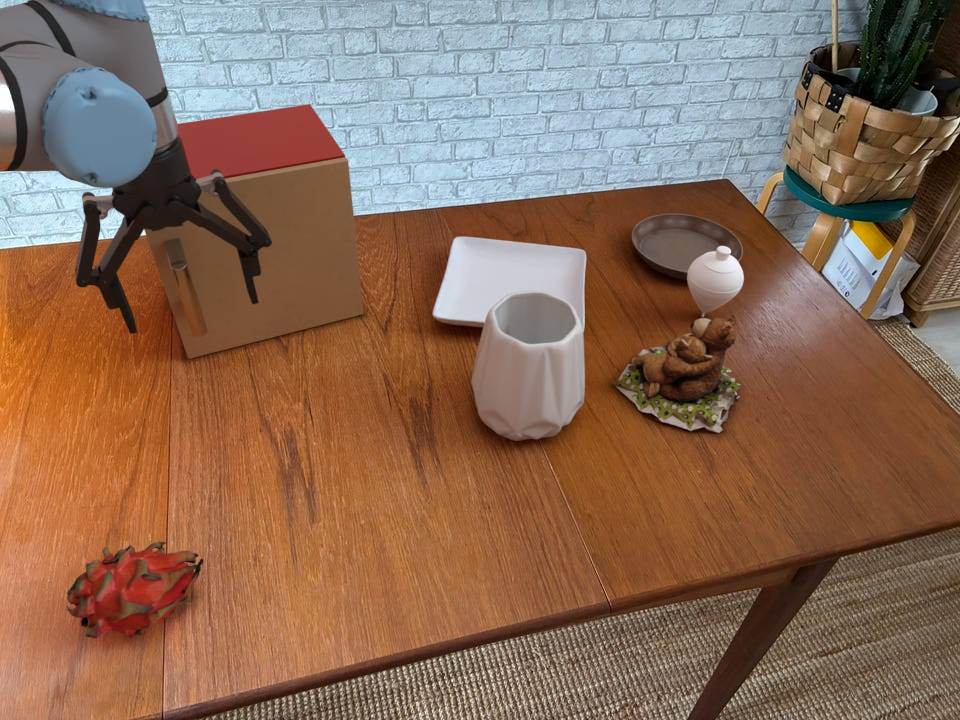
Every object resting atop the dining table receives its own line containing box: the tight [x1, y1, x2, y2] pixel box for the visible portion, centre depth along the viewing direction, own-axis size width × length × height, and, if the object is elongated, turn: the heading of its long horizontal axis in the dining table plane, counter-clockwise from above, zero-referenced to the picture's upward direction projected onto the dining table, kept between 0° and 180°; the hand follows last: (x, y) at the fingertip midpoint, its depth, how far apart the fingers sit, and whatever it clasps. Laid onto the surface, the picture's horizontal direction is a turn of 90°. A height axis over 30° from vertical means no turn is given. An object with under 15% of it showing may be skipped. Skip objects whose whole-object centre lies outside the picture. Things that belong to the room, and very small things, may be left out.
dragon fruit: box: [66, 541, 205, 640], centre depth 66 cm, size 8×8×12 cm
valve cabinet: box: [177, 103, 346, 179], centre depth 96 cm, size 16×24×24 cm, turn 115°
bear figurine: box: [612, 314, 742, 434], centre depth 89 cm, size 14×15×12 cm
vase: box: [470, 291, 586, 442], centre depth 84 cm, size 14×14×15 cm
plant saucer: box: [631, 213, 744, 281], centre depth 115 cm, size 18×18×3 cm
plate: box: [431, 236, 587, 333], centre depth 105 cm, size 21×21×3 cm
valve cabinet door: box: [143, 156, 365, 360], centre depth 88 cm, size 7×24×24 cm, turn 115°
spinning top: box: [686, 246, 745, 318], centre depth 100 cm, size 8×8×12 cm
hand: (194, 311), depth 82 cm, fingers open, 13 cm apart
